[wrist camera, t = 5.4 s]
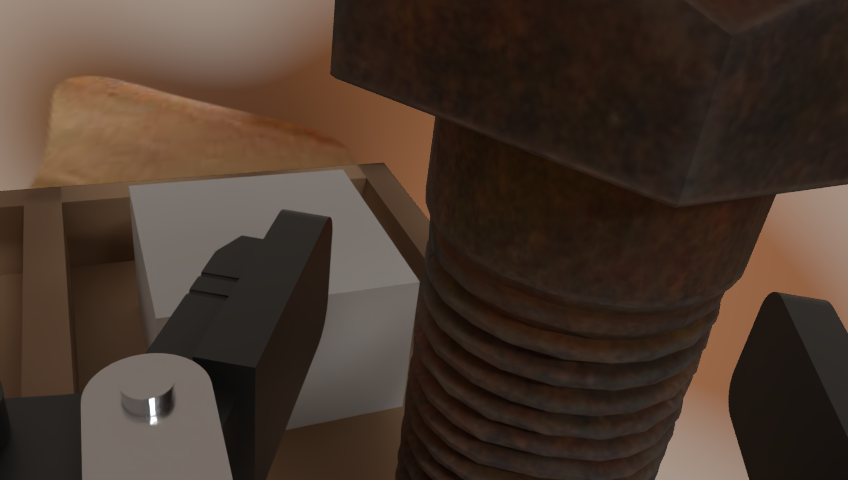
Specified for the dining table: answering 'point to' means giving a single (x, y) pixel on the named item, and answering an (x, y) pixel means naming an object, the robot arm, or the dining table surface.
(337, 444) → the tray
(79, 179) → the dining table surface
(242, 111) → the dining table surface
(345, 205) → the grey block
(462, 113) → the bolt
